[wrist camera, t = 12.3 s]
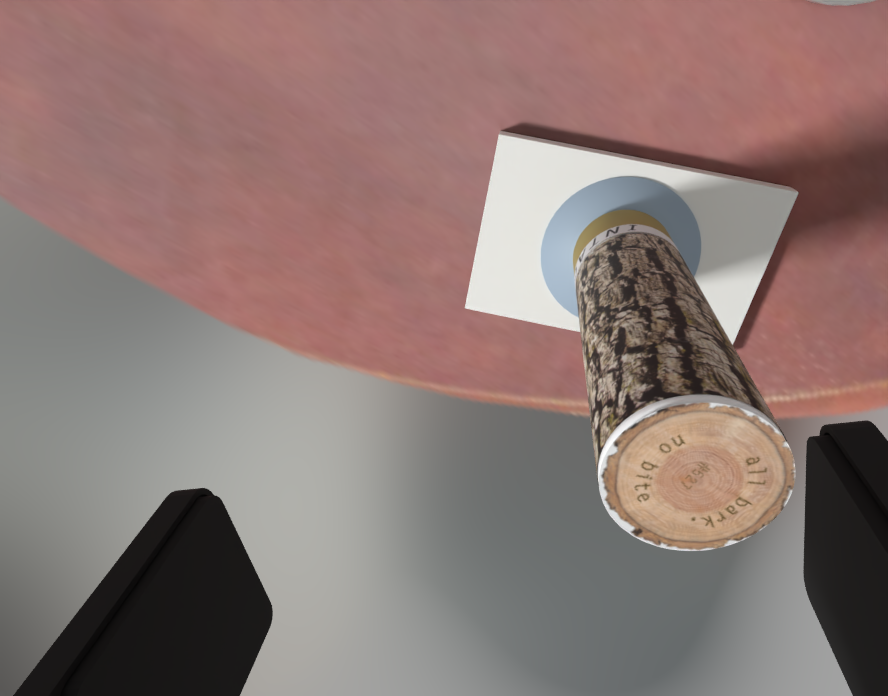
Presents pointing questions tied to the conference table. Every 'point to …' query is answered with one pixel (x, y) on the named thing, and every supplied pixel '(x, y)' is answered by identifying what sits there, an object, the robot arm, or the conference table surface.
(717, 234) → the holder board
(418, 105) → the conference table surface
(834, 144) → the conference table surface
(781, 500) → the paper tube
